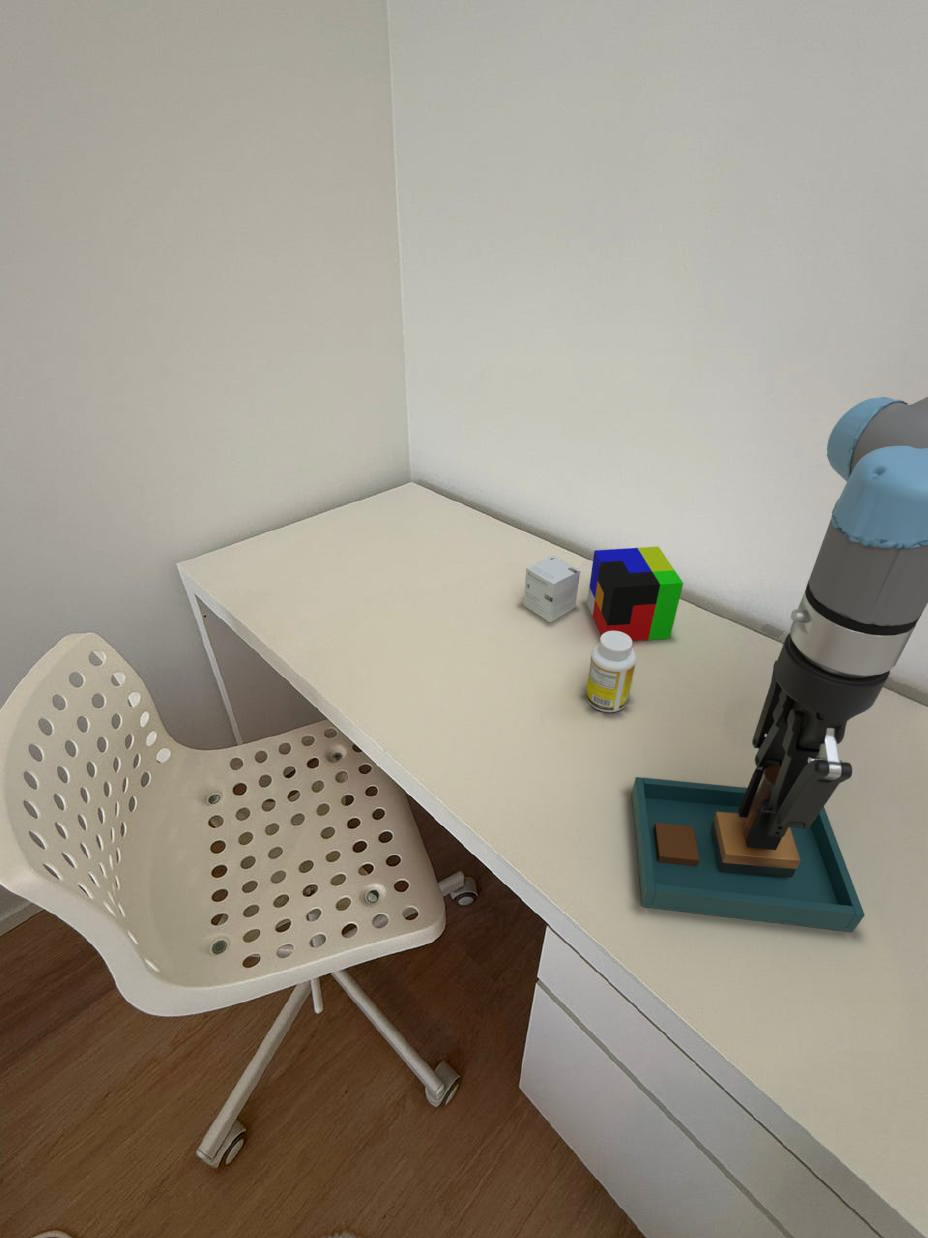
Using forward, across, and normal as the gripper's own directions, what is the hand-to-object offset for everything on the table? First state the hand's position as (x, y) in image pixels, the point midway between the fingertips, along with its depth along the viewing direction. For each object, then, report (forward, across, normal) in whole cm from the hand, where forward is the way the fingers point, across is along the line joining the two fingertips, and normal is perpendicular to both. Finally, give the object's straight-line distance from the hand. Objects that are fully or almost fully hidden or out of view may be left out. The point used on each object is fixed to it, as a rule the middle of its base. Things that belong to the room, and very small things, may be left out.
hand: (756, 829), depth 64 cm
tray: (+5, 0, -1) cm, 5 cm away
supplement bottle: (+5, -22, -13) cm, 26 cm away
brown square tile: (+4, 0, -7) cm, 8 cm away
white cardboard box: (+5, -42, -21) cm, 47 cm away
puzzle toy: (+5, -40, -9) cm, 41 cm away
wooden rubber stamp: (+4, 0, 0) cm, 4 cm away
